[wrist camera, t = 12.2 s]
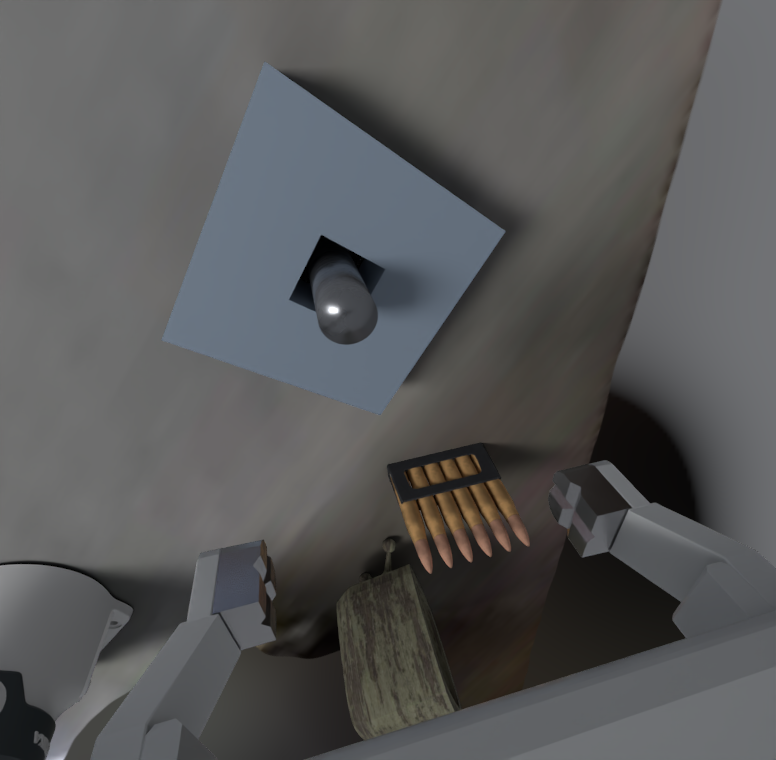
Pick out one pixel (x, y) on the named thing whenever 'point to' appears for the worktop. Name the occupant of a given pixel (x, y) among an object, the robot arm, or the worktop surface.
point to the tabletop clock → (392, 653)
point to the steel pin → (340, 294)
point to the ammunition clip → (470, 492)
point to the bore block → (298, 239)
